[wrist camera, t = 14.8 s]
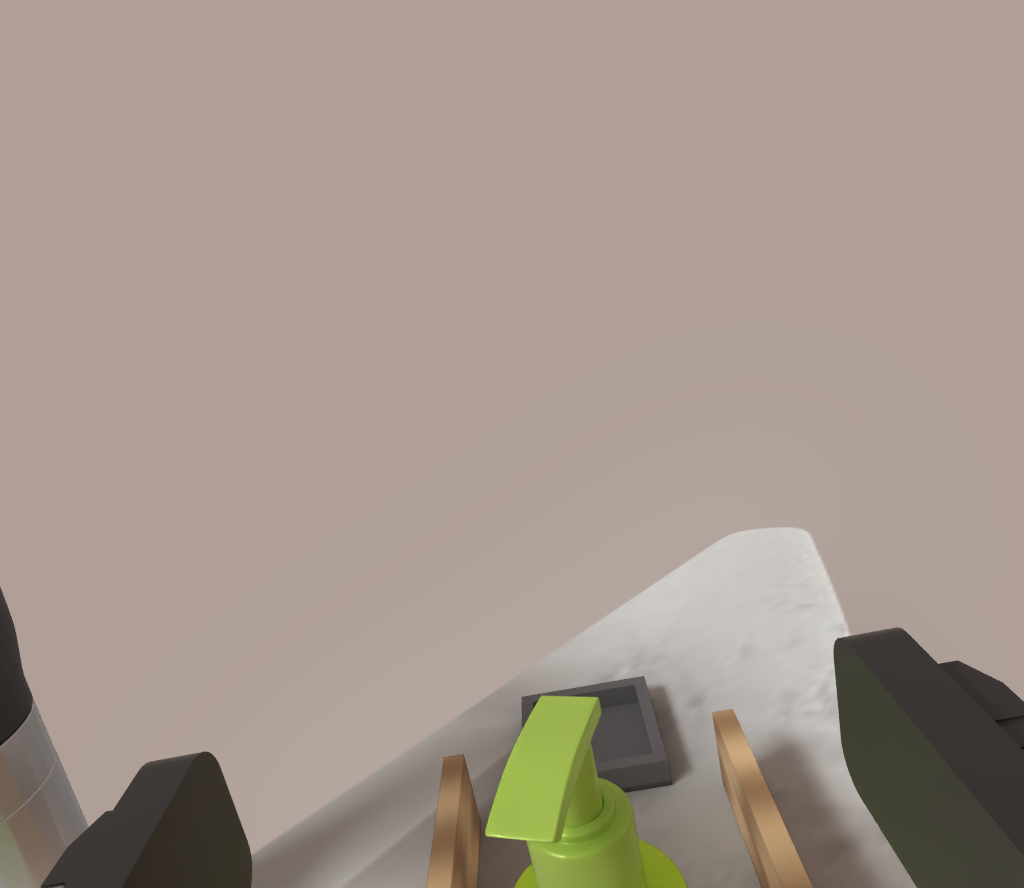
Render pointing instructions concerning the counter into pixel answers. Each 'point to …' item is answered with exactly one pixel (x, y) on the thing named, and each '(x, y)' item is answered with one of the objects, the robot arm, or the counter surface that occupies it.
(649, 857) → the soap dispenser
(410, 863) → the counter surface
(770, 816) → the oak channel
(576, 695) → the pit tray
